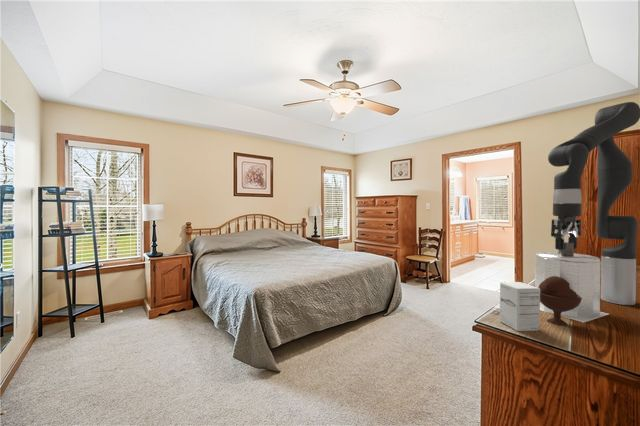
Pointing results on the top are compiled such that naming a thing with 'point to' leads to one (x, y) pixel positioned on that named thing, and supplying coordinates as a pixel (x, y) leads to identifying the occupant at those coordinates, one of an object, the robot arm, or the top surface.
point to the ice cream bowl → (558, 298)
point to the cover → (572, 278)
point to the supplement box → (520, 306)
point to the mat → (584, 319)
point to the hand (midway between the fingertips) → (566, 248)
